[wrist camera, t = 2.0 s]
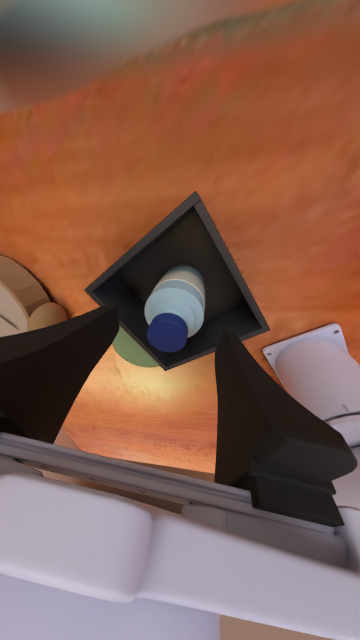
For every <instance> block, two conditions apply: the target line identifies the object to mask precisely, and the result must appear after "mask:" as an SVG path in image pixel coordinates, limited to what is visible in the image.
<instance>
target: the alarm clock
mask: <svg viewBox="0 0 360 640" xmlns="http://www.w3.org/2000/svg"><path fill="white" fill-rule="evenodd" d="M66 320H67V315H66V311H65V310H64V309H63V308H62V307H61V306H60V305H58V304H56V303H53V302H50V300H49V297H48V295H47V294H46V292H45V291H44V289H43V288H42V287H41V285H40V284H39V282H38V281H37V280H36V279H35V278H34V277H33V276H32V275H31V274H30V273H29V272H28V271H27V270H26V269H24V268H23V267H21V266H20V265H18V264H17V263H16V262H14V261H13V260H11V259H8V258H6V257H3V256H1V255H0V337H3V336H8V335H14V334H19V333H23V332H27V331H32V330H36V329H40V328H44V327H48V326H51V325H54V324H58V323H61V322H64V321H66Z"/></svg>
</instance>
